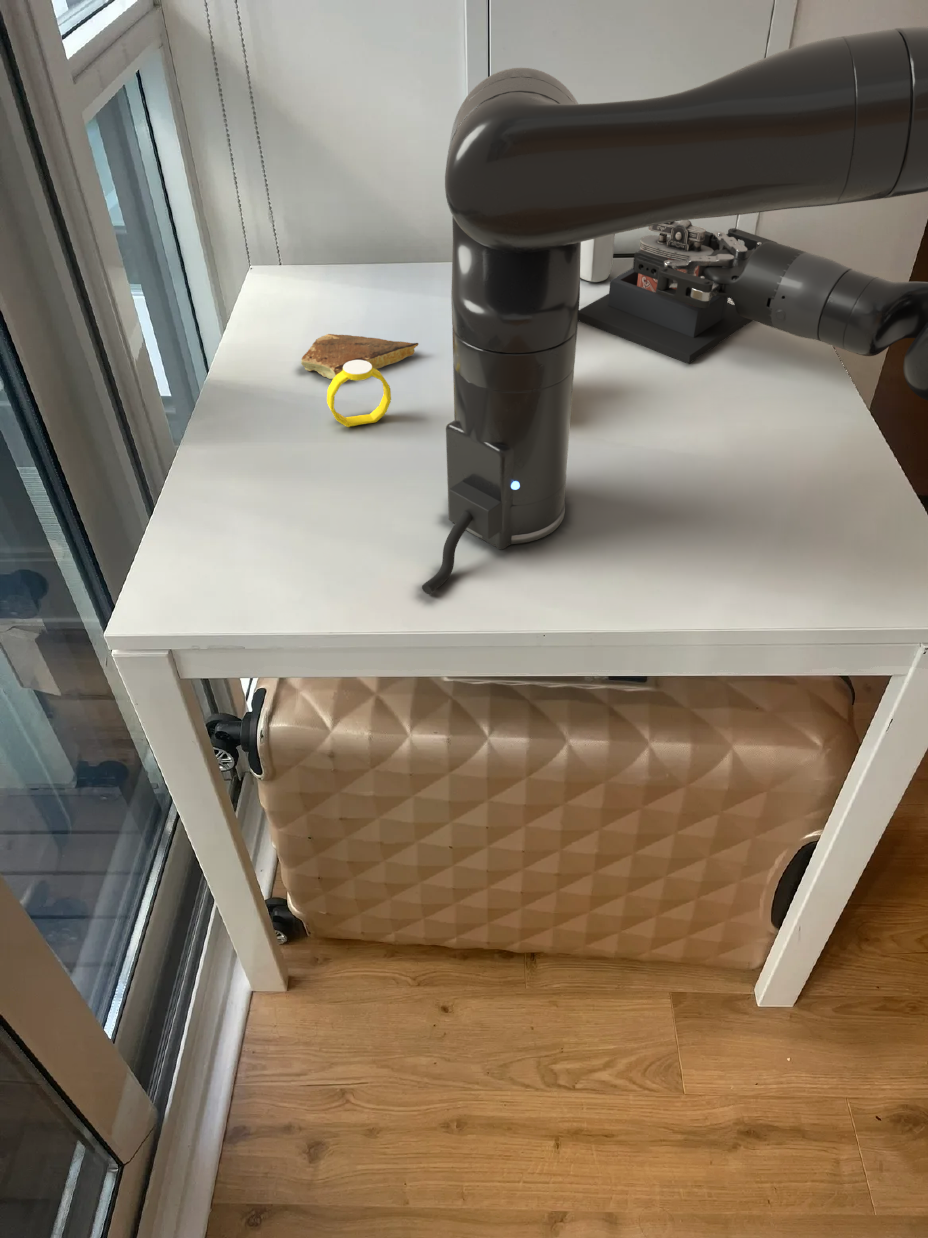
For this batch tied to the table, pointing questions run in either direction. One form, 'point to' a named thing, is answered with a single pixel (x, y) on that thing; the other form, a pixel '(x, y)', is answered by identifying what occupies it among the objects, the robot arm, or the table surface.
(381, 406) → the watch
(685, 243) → the lighter
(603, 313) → the dock pad
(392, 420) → the table surface
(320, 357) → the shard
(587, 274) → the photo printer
